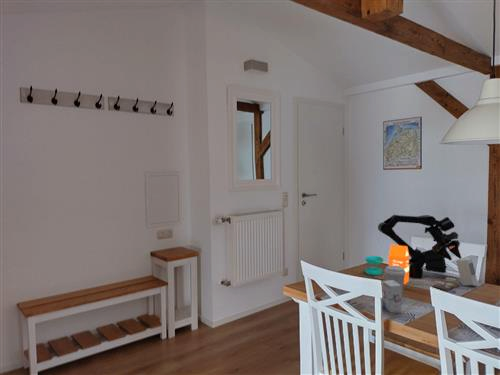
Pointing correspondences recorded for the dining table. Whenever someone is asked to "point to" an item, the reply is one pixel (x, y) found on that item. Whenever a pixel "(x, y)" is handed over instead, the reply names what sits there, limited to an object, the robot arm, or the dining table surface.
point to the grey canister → (395, 275)
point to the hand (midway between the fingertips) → (456, 259)
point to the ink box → (392, 296)
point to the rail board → (446, 284)
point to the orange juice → (400, 259)
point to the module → (466, 272)
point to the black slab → (435, 261)
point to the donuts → (374, 270)
